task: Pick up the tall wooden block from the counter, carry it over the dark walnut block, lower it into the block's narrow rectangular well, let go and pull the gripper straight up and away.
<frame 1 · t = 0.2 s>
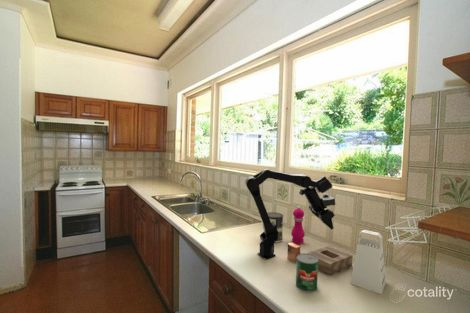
hand: (328, 225, 119), 15 cm above the counter, tool tilted 30°, fingers open, 9 cm apart
canned tomato: (306, 286, 93), on the counter
grater: (368, 283, 96), on the counter
coffee can: (273, 239, 139), on the counter
pepper mill: (297, 242, 136), on the counter
tall wooden block: (293, 259, 114), on the counter
well block: (329, 265, 110), on the counter
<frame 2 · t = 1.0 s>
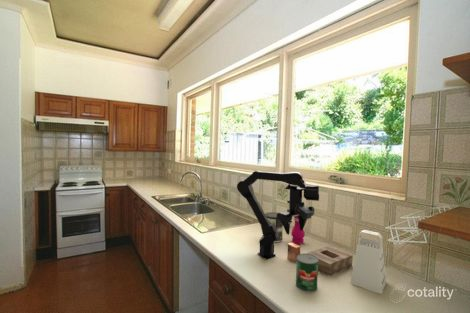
hand: (294, 232, 114), 13 cm above the counter, tool pointing down, fingers open, 9 cm apart
nothing on the counter moved.
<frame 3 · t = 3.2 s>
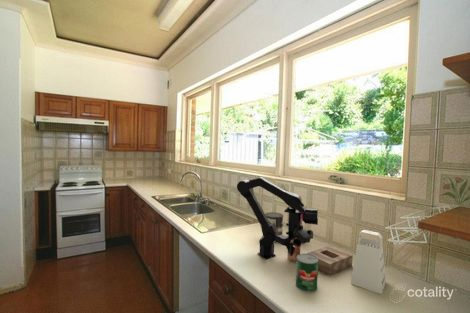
hand: (293, 255, 114), 2 cm above the counter, tool pointing down, fingers closed on tall wooden block, 3 cm apart
tall wooden block: (293, 259, 114), on the counter, touching gripper
everything else where it was.
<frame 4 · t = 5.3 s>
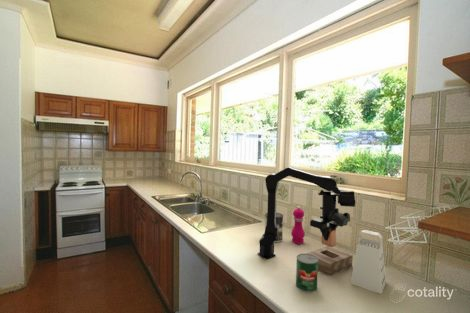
hand: (328, 239, 109), 11 cm above the counter, tool pointing down, fingers closed on tall wooden block, 3 cm apart
tall wooden block: (328, 244, 110), point 9 cm above the counter, touching gripper
everything else where it was.
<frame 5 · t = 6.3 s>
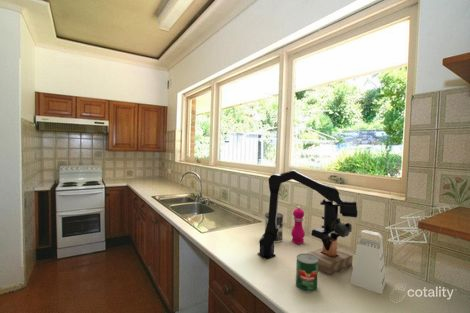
hand: (329, 249, 109), 7 cm above the counter, tool pointing down, fingers closed on tall wooden block, 3 cm apart
tall wooden block: (329, 254, 110), point 5 cm above the counter, touching gripper
everything else where it was.
when the fingers open (6 cm above the counter, at t = 7.2 s): tall wooden block drops 3 cm, resting on well block.
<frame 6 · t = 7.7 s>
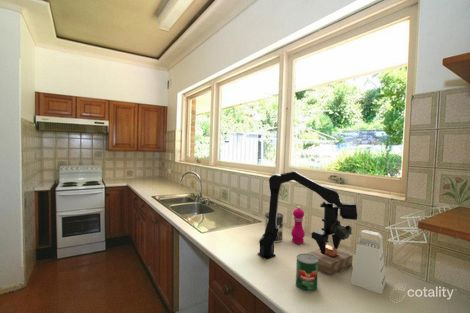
hand: (329, 251, 110), 6 cm above the counter, tool pointing down, fingers open, 9 cm apart
tall wooden block: (329, 262, 110), point 1 cm above the counter, touching well block
everything else where it was.
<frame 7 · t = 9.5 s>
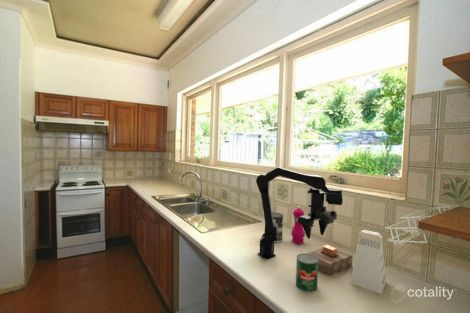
hand: (315, 236, 113), 12 cm above the counter, tool pointing down, fingers open, 9 cm apart
nothing on the counter moved.
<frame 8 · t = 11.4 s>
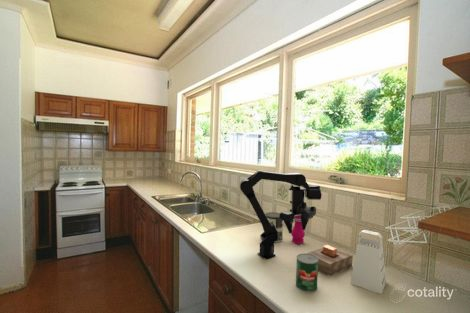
hand: (297, 231, 118), 12 cm above the counter, tool pointing down, fingers open, 9 cm apart
nothing on the counter moved.
at the end: tall wooden block 0.0 cm off-centre on the well block, point 1.0 cm above the well block's base; tall wooden block tilted 0°; the gripper is holding nothing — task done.
